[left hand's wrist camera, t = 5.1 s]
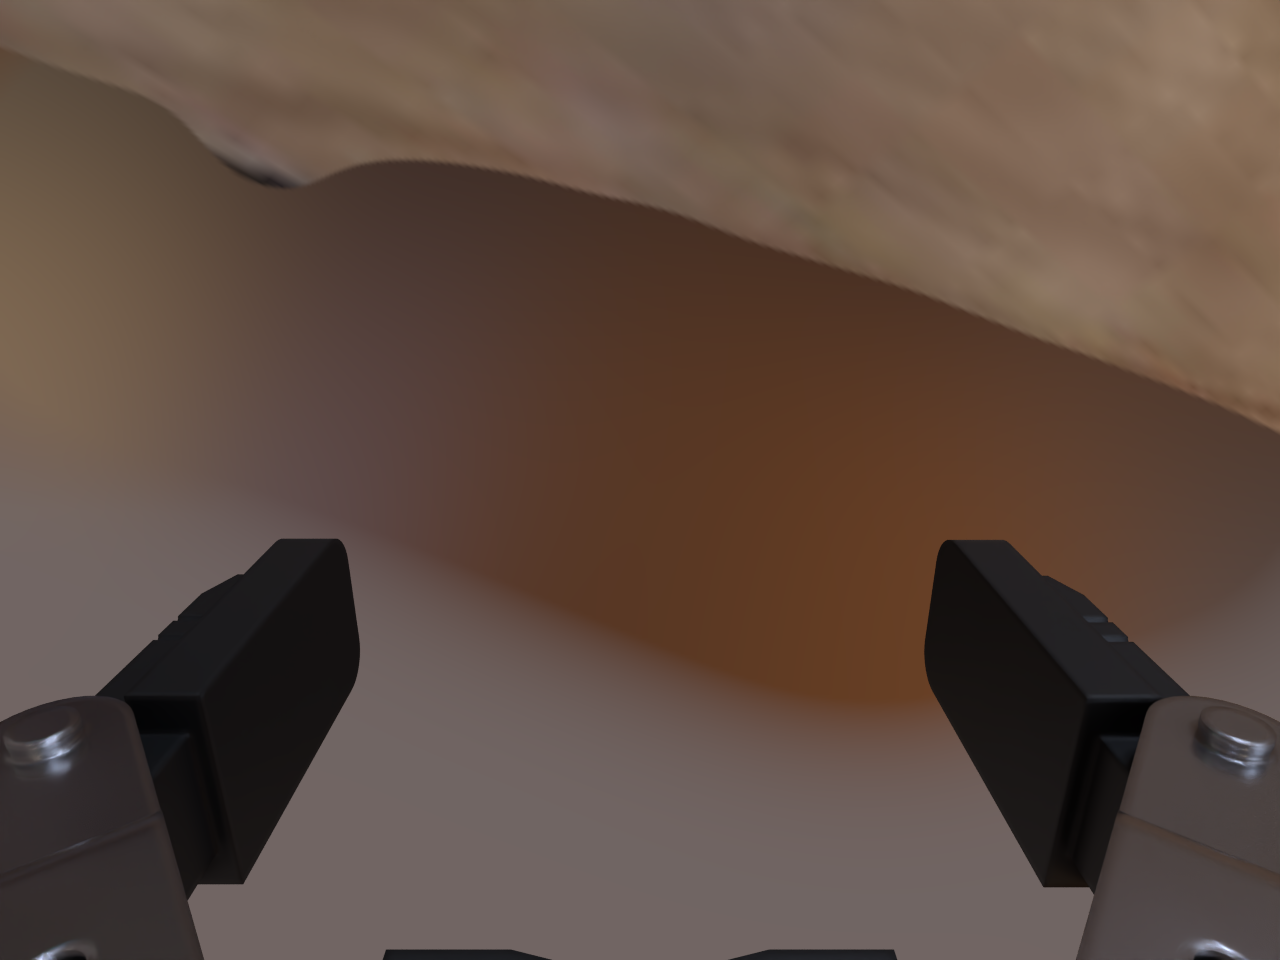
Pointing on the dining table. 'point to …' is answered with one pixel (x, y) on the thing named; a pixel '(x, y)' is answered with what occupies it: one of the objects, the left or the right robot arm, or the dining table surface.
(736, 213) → the dining table surface
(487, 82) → the dining table surface
